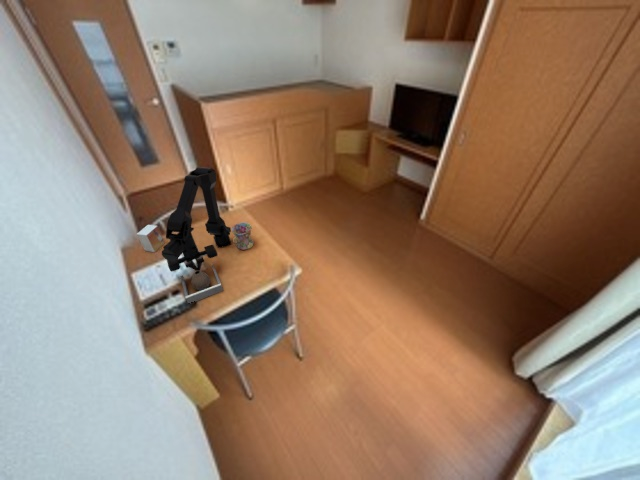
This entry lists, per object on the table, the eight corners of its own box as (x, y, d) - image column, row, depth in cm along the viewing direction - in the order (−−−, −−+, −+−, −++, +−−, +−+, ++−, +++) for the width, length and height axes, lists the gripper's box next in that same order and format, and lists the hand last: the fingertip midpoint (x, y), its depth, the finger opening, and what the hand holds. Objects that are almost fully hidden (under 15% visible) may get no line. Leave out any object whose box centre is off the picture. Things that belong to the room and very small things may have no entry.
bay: (215, 270, 120) (213, 264, 117) (223, 290, 111) (221, 284, 108) (183, 281, 114) (180, 275, 112) (188, 304, 105) (185, 298, 103)
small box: (155, 252, 129) (146, 235, 122) (145, 251, 130) (135, 234, 123) (165, 242, 135) (157, 225, 128) (156, 240, 136) (147, 224, 129)
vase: (215, 283, 114) (209, 268, 108) (204, 295, 109) (198, 280, 103) (201, 279, 116) (195, 264, 110) (190, 290, 111) (184, 276, 105)
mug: (242, 237, 138) (239, 220, 131) (258, 241, 136) (255, 224, 129) (228, 252, 129) (223, 234, 123) (245, 256, 127) (241, 239, 120)
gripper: (206, 226, 116) (215, 253, 126) (159, 240, 109) (173, 267, 118) (212, 240, 109) (221, 267, 119) (162, 257, 101) (176, 284, 111)
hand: (198, 271), depth 117 cm, fingers closed
